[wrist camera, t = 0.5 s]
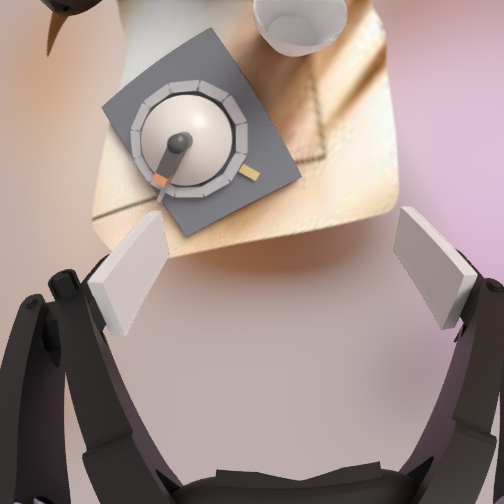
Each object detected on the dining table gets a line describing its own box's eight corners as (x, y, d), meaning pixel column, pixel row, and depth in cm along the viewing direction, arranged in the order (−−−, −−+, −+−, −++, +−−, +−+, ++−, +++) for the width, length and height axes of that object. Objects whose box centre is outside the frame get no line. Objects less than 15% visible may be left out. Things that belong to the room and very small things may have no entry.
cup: (245, 21, 28) (235, -11, 17) (307, 0, 25) (321, -37, 15) (276, 75, 31) (278, 61, 21) (337, 53, 29) (365, 34, 19)
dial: (170, 81, 31) (156, 79, 26) (250, 121, 33) (247, 123, 29) (134, 158, 36) (117, 166, 32) (206, 196, 39) (198, 209, 34)
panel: (104, 109, 34) (93, 110, 31) (213, 29, 28) (208, 24, 26) (186, 233, 44) (181, 242, 41) (300, 174, 38) (303, 179, 35)
